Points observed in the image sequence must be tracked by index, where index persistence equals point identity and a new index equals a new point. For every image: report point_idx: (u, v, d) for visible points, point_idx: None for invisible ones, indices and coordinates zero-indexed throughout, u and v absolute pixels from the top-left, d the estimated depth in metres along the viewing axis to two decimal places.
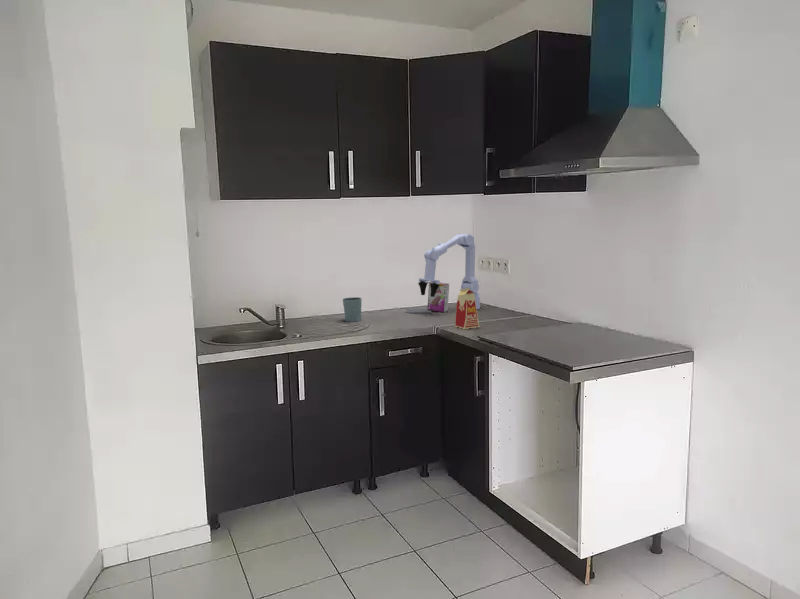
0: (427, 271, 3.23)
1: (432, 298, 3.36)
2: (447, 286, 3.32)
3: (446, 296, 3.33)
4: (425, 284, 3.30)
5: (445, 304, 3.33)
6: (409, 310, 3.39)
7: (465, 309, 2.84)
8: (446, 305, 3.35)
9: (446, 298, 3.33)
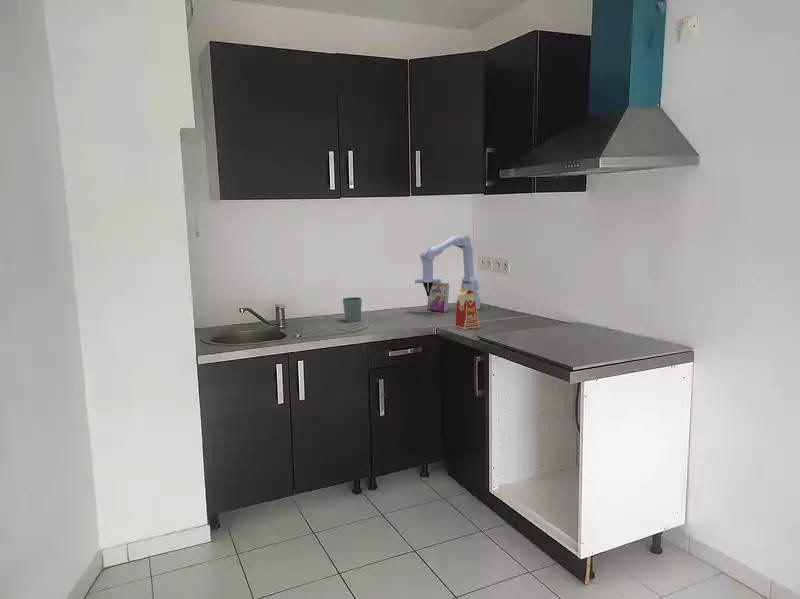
0: (428, 272, 3.22)
1: (432, 298, 3.36)
2: (447, 286, 3.33)
3: (446, 296, 3.33)
4: None
5: (445, 304, 3.34)
6: (409, 310, 3.39)
7: (465, 309, 2.84)
8: (446, 305, 3.35)
9: (446, 298, 3.34)
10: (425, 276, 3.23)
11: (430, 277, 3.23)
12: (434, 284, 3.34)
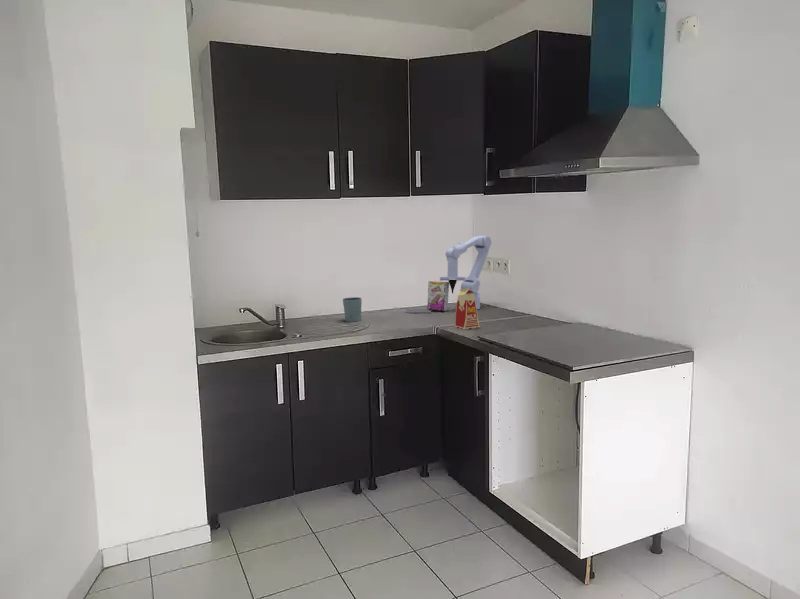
0: (453, 269, 3.31)
1: (432, 297, 3.37)
2: (447, 284, 3.34)
3: (446, 294, 3.34)
4: None
5: (445, 302, 3.34)
6: (409, 310, 3.39)
7: (465, 309, 2.84)
8: (446, 304, 3.35)
9: (446, 296, 3.34)
10: (450, 273, 3.31)
11: (455, 274, 3.31)
12: (434, 283, 3.36)
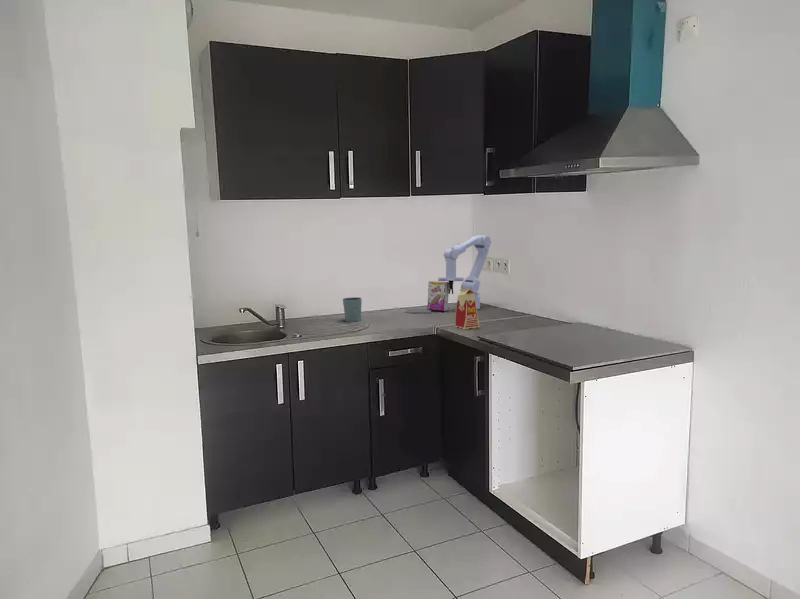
0: (452, 270, 3.31)
1: (432, 297, 3.36)
2: (447, 285, 3.34)
3: (446, 295, 3.34)
4: None
5: (445, 303, 3.34)
6: (409, 310, 3.39)
7: (465, 309, 2.84)
8: (446, 304, 3.35)
9: (446, 297, 3.34)
10: (448, 274, 3.31)
11: (453, 275, 3.31)
12: (434, 283, 3.35)
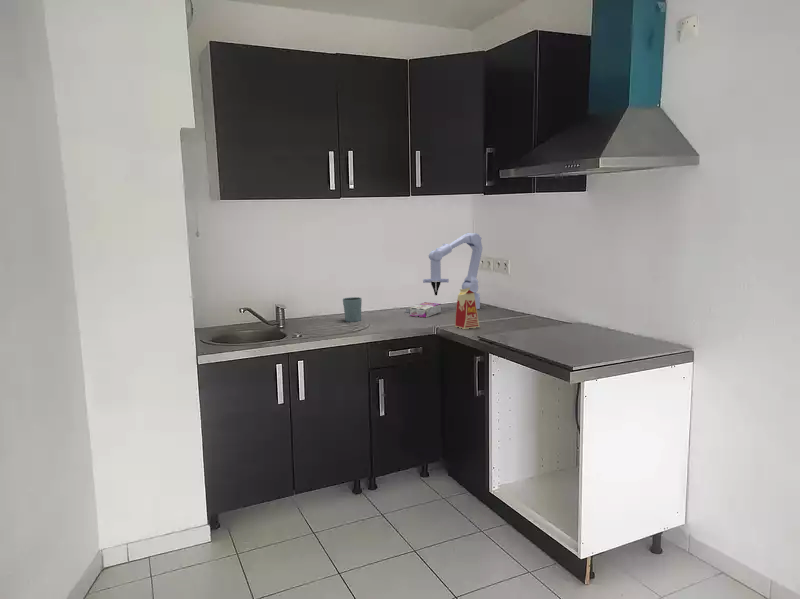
0: (436, 272, 3.32)
1: None
2: (427, 312, 3.19)
3: (433, 311, 3.23)
4: None
5: (437, 311, 3.27)
6: (409, 310, 3.39)
7: (465, 309, 2.84)
8: (438, 308, 3.28)
9: (434, 310, 3.24)
10: (433, 276, 3.33)
11: (438, 277, 3.33)
12: None
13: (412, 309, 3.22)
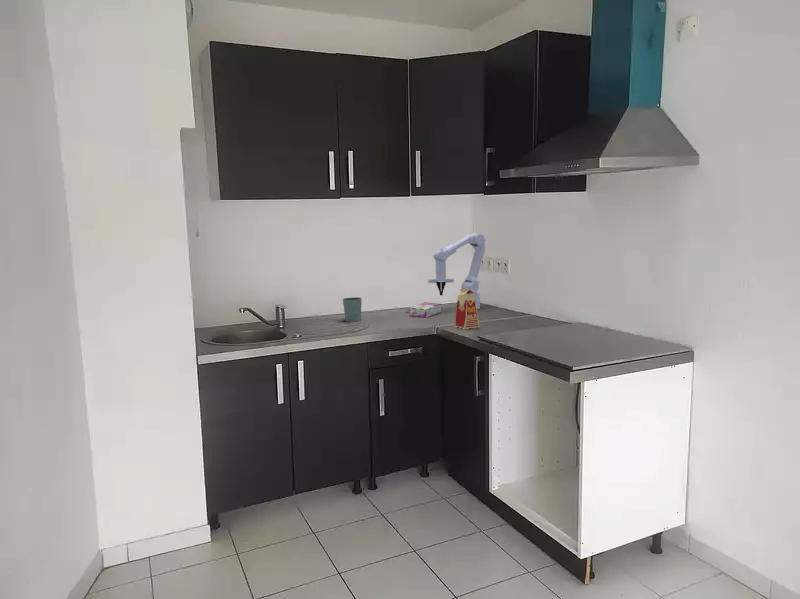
0: (441, 272, 3.32)
1: None
2: (427, 312, 3.19)
3: (433, 311, 3.23)
4: None
5: (437, 311, 3.27)
6: (409, 310, 3.39)
7: (465, 309, 2.84)
8: (438, 308, 3.28)
9: (434, 310, 3.24)
10: (438, 276, 3.32)
11: (443, 277, 3.32)
12: None
13: (412, 309, 3.22)
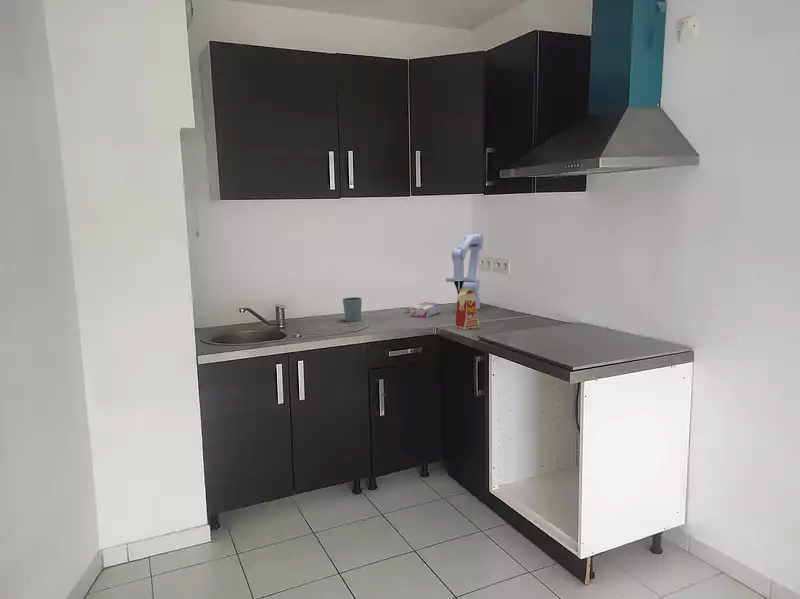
0: (460, 271, 3.25)
1: None
2: (427, 312, 3.19)
3: (433, 311, 3.23)
4: None
5: (437, 311, 3.27)
6: (409, 310, 3.39)
7: (465, 309, 2.84)
8: (438, 308, 3.28)
9: (434, 310, 3.24)
10: (456, 275, 3.25)
11: (461, 276, 3.25)
12: None
13: (412, 309, 3.22)
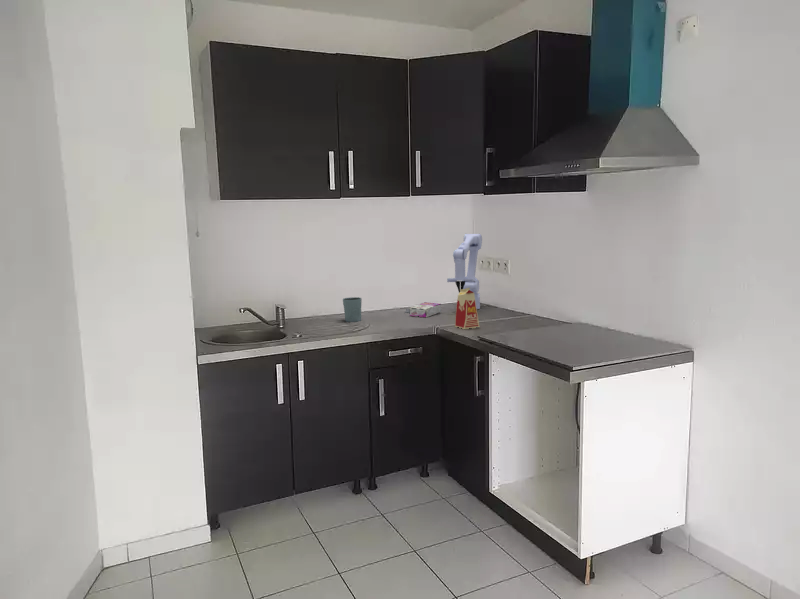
0: (461, 271, 3.24)
1: None
2: (427, 312, 3.19)
3: (433, 311, 3.23)
4: None
5: (437, 311, 3.27)
6: (409, 310, 3.39)
7: (465, 309, 2.84)
8: (438, 308, 3.28)
9: (434, 310, 3.24)
10: (458, 275, 3.24)
11: (463, 276, 3.24)
12: None
13: (412, 309, 3.22)
